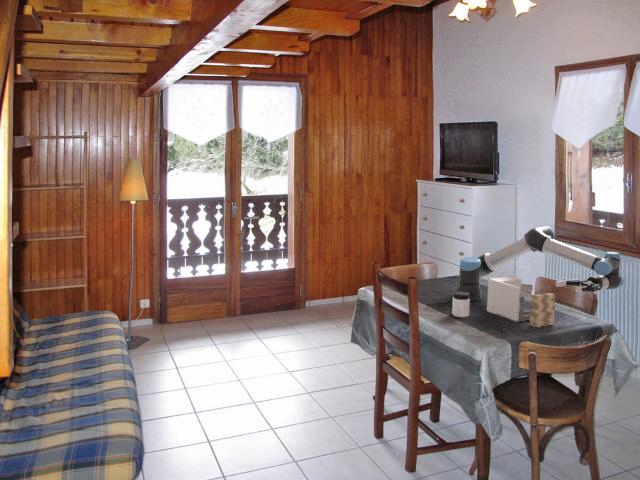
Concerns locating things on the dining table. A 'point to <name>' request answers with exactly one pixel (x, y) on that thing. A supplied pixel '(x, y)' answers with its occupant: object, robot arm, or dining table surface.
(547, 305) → the tan patterned box
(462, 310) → the jar
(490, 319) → the dining table surface
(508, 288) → the cabinet
